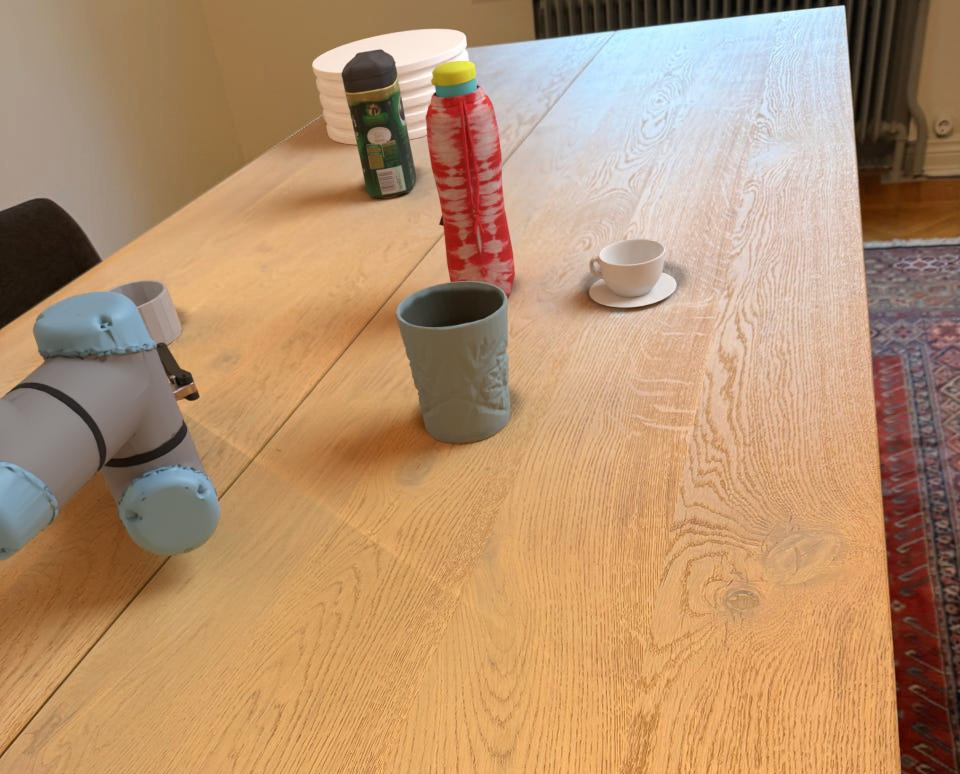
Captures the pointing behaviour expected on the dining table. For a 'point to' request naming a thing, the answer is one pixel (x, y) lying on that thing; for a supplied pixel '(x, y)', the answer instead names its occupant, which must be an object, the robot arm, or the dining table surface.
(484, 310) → the grey embossed cup
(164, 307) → the grey faceted cup
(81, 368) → the robot arm
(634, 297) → the teacup
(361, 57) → the coffee jar
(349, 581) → the dining table surface
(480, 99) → the water bottle
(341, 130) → the plate stack
